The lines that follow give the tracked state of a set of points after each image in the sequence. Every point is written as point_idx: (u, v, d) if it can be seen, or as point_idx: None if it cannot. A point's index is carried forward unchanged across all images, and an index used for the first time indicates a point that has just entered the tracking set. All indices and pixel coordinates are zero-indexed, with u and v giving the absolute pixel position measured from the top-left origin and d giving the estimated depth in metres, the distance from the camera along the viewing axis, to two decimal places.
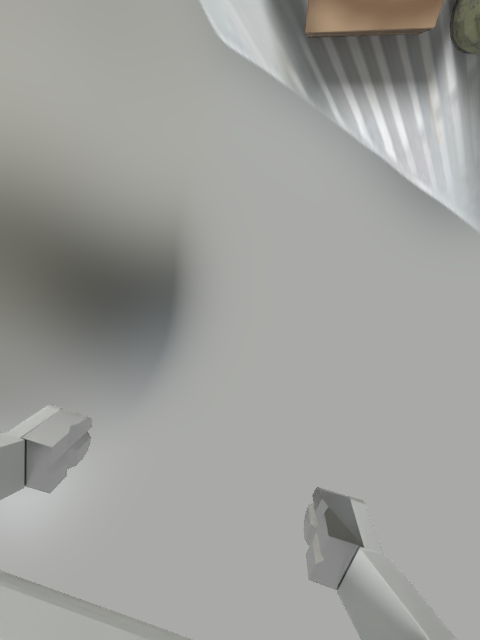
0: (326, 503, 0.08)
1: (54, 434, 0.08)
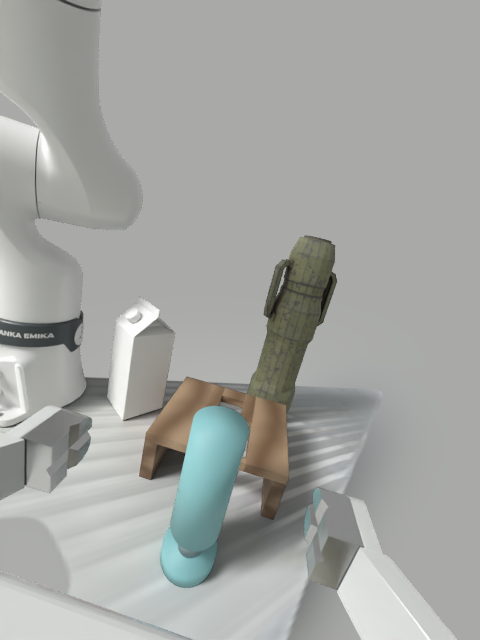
0: (326, 503, 0.08)
1: (54, 434, 0.08)
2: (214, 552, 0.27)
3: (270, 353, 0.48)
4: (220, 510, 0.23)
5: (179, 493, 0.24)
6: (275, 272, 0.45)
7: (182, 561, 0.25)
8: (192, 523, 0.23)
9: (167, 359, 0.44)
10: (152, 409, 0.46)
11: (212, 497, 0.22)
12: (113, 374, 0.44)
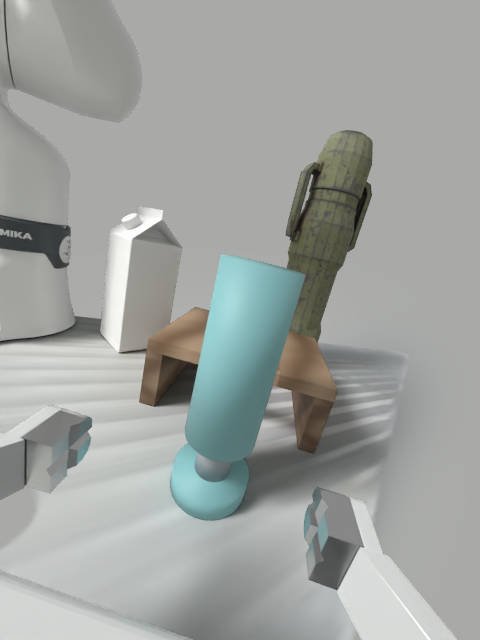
0: (326, 503, 0.08)
1: (54, 434, 0.08)
2: (245, 477, 0.19)
3: None
4: (262, 396, 0.16)
5: (199, 375, 0.16)
6: (300, 179, 0.38)
7: (202, 485, 0.18)
8: (220, 414, 0.15)
9: (172, 281, 0.37)
10: None
11: (253, 368, 0.15)
12: (107, 300, 0.37)
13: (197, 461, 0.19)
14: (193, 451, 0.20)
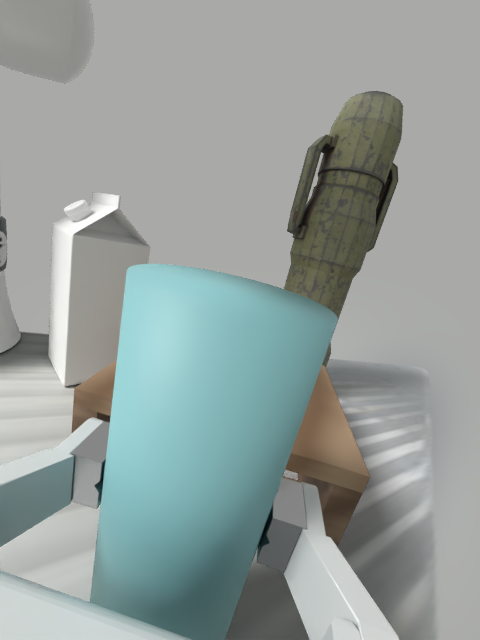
0: None
1: (101, 449, 0.08)
2: None
3: (297, 290, 0.32)
4: (233, 587, 0.07)
5: (98, 529, 0.07)
6: (307, 157, 0.29)
7: None
8: None
9: None
10: None
11: (205, 554, 0.06)
12: (52, 316, 0.28)
13: None
14: None
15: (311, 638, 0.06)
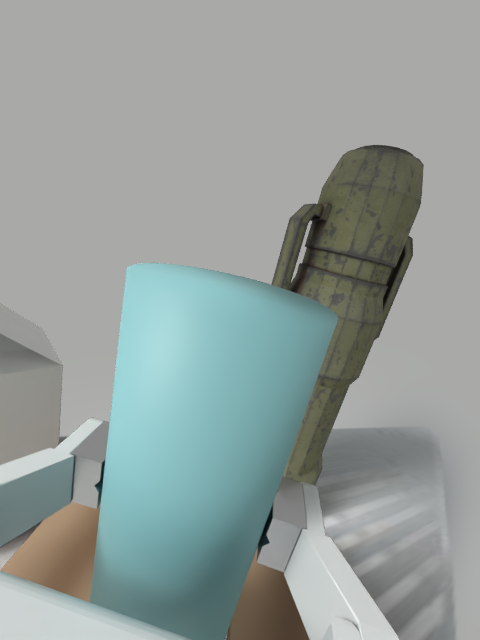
0: None
1: (101, 449, 0.08)
2: None
3: None
4: (233, 587, 0.07)
5: (98, 528, 0.07)
6: (289, 231, 0.21)
7: None
8: None
9: (49, 422, 0.20)
10: None
11: (205, 554, 0.06)
12: None
13: None
14: None
15: (311, 638, 0.06)
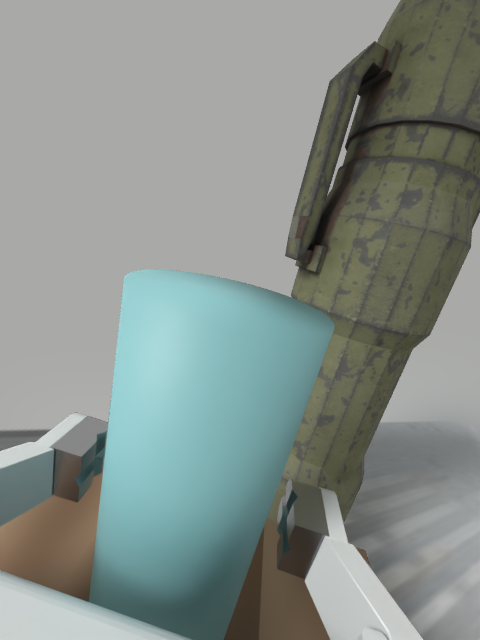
0: (296, 494, 0.08)
1: (82, 443, 0.08)
2: None
3: None
4: (231, 591, 0.07)
5: (96, 533, 0.07)
6: (329, 100, 0.13)
7: None
8: None
9: None
10: None
11: (202, 560, 0.06)
12: None
13: None
14: None
15: None
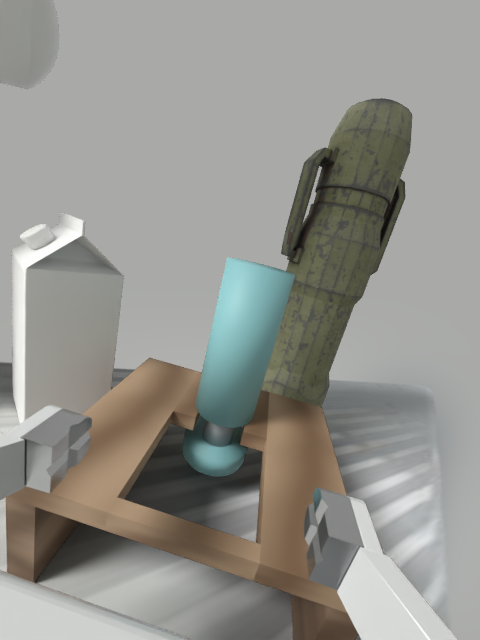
0: (326, 503, 0.08)
1: (54, 434, 0.08)
2: None
3: (292, 319, 0.29)
4: (259, 373, 0.19)
5: (208, 356, 0.20)
6: (303, 173, 0.26)
7: (209, 448, 0.21)
8: (225, 387, 0.19)
9: (111, 325, 0.25)
10: None
11: (252, 349, 0.18)
12: (14, 352, 0.25)
13: (205, 430, 0.22)
14: (201, 423, 0.24)
15: None
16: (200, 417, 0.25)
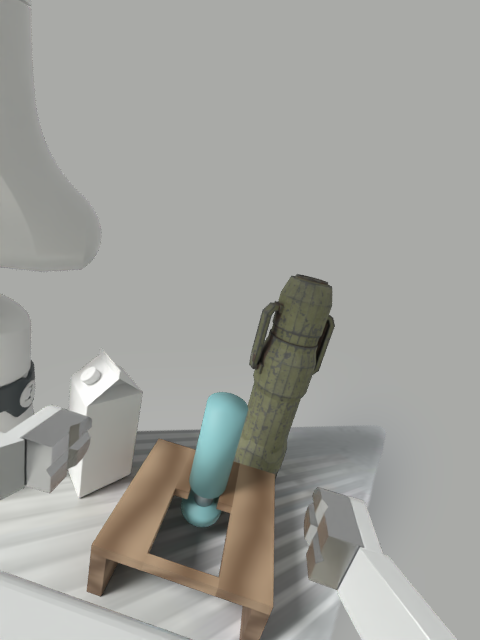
0: (326, 503, 0.08)
1: (54, 434, 0.08)
2: None
3: (257, 409, 0.41)
4: (227, 467, 0.32)
5: (197, 455, 0.32)
6: (262, 317, 0.38)
7: (198, 508, 0.34)
8: (206, 476, 0.32)
9: (134, 422, 0.37)
10: (117, 478, 0.39)
11: (221, 456, 0.31)
12: None
13: (195, 495, 0.35)
14: None
15: None
16: None
